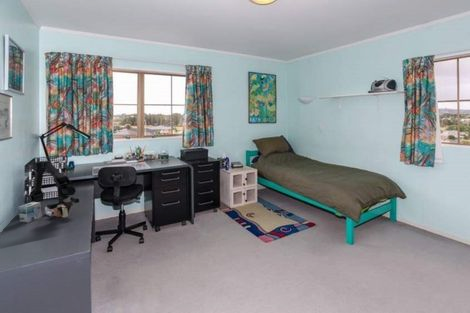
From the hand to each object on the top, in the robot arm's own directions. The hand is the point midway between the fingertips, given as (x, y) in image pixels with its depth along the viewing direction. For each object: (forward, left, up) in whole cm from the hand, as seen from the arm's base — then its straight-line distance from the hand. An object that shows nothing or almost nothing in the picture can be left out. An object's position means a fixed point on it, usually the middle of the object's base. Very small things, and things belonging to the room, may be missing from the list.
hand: (64, 214), depth 187 cm
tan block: (-13, -5, -2) cm, 14 cm away
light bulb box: (-9, -19, -2) cm, 21 cm away
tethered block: (-4, -1, -2) cm, 5 cm away
